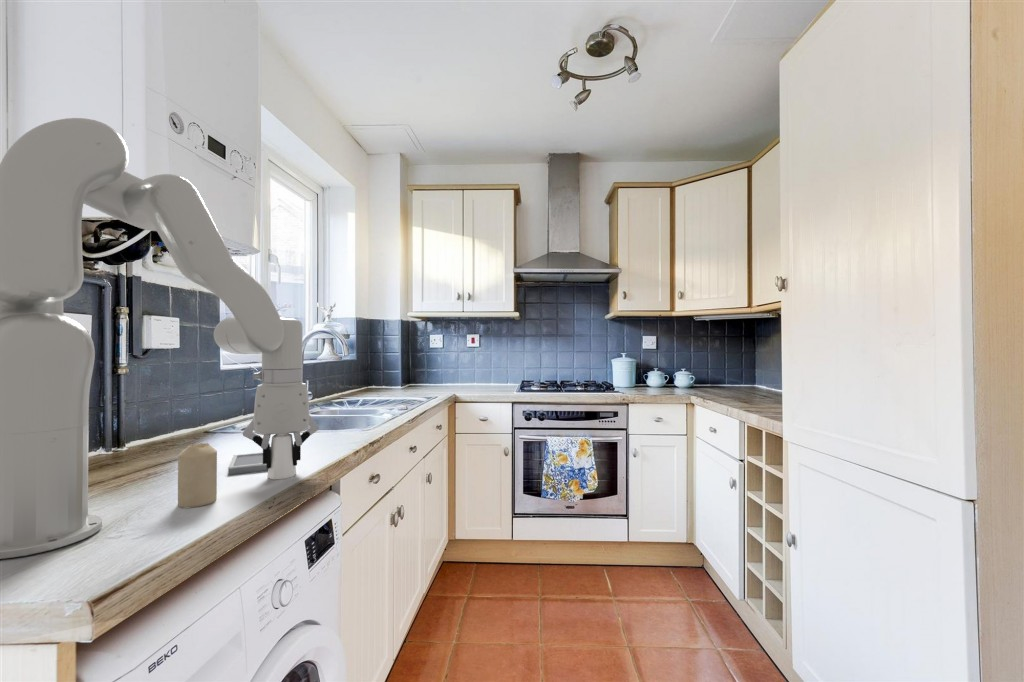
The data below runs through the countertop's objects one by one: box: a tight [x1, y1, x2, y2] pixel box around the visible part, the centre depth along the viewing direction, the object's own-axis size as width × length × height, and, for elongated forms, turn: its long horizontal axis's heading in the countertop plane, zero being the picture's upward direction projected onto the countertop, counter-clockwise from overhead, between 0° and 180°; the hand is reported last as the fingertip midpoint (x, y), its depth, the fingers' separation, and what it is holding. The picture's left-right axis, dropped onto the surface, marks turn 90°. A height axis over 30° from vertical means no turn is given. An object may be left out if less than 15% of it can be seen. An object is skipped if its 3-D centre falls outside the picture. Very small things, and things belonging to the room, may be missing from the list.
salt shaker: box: [266, 433, 297, 481], centre depth 94 cm, size 5×5×11 cm
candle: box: [177, 442, 218, 509], centre depth 78 cm, size 6×6×10 cm
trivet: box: [227, 451, 268, 476], centre depth 102 cm, size 12×12×2 cm
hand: (281, 464), depth 93 cm, fingers closed on salt shaker, 4 cm apart
